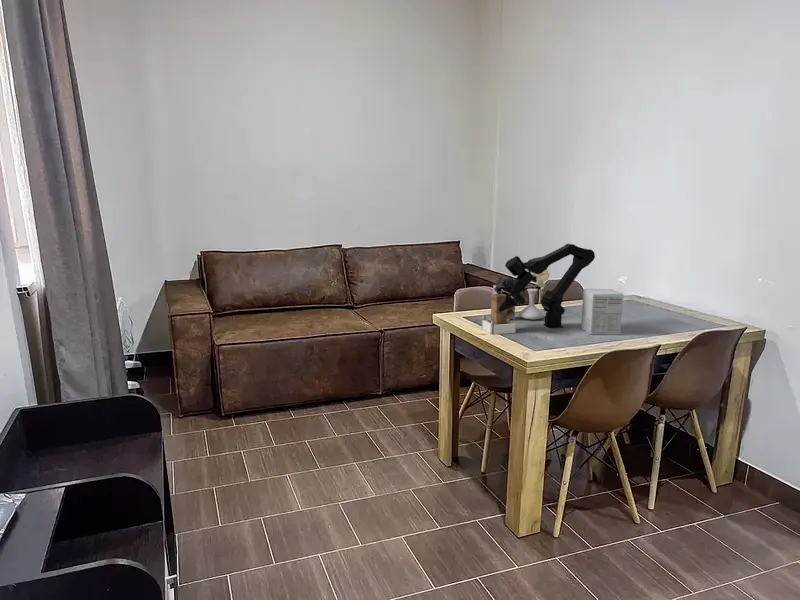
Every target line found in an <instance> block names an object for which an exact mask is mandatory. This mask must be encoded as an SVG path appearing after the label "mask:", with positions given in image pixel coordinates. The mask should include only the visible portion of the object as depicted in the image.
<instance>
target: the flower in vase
mask: <svg viewBox="0 0 800 600" xmlns="http://www.w3.org/2000/svg"><path fill="white" fill-rule="evenodd" d="M531 274H532V275H533V276H536V280H537V282H536V284H535V285H534V284H532V283H531V282H530V283H529V284H528V285H529V286H531V287H534V288H527V289H526V291H527V292H528V297H529V301H528V302H529V303H528V305H527V306H525V307H524V308H523V309H521V311H519V313H518V317H521V319H525V320H541V319H542V318H543V317H544V313H543V312H542V311H541V310H540V309H539V308H538V307H537V306H536V305H535V297H536V294H537V292H538V290H539V289H538V288H536V287H537V286H538V287H540V288H542V289H543V288H546V287H548V285H547V284H546V283H545V282H546V281H548V280H549V277H550V273H549V270H548V268H547V269H546V270H545V271H543V272H542V273H541V274H535V273H532V272H531Z"/></svg>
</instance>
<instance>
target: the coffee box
mask: <svg viewBox="0 0 800 600" xmlns="http://www.w3.org/2000/svg"><path fill="white" fill-rule="evenodd" d="M496 286H501V287H504V286H502V285H500V284H493V287H492V294H497V292H496V291H495V290H494V288H495V287H496ZM505 290H506V289H505ZM515 315H516V306H513V307H511V308H508V309H507V320H508V319H516V318H515V317H516V316H515Z"/></svg>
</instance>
